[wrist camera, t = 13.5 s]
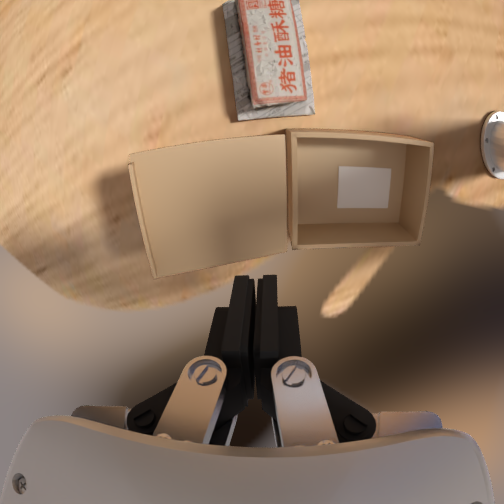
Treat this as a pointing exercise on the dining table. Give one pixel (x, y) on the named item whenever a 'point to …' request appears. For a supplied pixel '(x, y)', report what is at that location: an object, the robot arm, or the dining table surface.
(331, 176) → the mailer box
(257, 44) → the packaged product
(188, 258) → the lid
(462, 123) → the dining table surface
